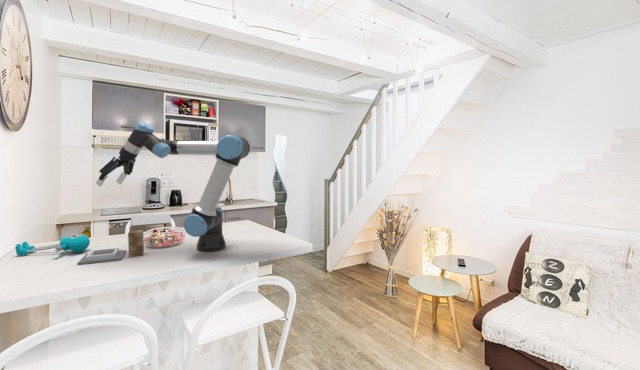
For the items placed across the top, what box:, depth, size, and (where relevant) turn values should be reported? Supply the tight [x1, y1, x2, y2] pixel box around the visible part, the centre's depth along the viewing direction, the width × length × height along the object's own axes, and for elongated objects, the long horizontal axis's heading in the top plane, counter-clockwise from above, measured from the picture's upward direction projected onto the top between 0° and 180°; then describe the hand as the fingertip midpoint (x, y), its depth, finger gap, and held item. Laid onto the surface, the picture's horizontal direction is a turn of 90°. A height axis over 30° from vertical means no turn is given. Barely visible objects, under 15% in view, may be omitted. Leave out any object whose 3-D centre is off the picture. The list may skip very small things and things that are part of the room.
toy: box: [15, 233, 91, 257], centre depth 156 cm, size 22×10×30 cm
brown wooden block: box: [127, 229, 145, 258], centre depth 155 cm, size 6×6×12 cm
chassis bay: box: [77, 247, 127, 266], centre depth 149 cm, size 17×15×3 cm
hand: (108, 183), depth 156 cm, fingers open, 13 cm apart
